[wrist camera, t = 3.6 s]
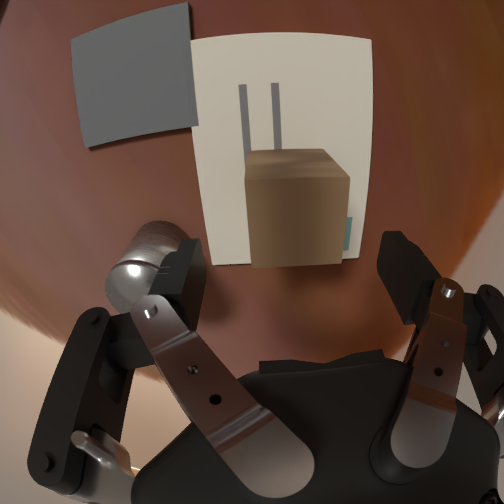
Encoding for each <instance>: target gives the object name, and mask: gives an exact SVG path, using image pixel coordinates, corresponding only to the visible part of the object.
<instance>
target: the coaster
mask: <svg viewBox="0 0 504 504" xmlns="http://www.w3.org/2000/svg"><path fill="white" fill-rule="evenodd" d="M190 40H192V37H191V24H190V9H189V3H188V2H185V3H180V4H176V5H171V6H167V7H162V8H158V9H155V10H151V11H147V12H144V13H140V14H137V15H134V16H130V17H127V18H124V19H121V20H118V21H116V22H113V23H110V24H107V25H105V26H102V27H100V28H97V29H95V30H92V31H90V32H87V33H85V34H83V35H81V36H78V37H76V38H74V39H72V40H71V54H72V67H73V77H74V86H75V94H76V101H77V108H78V114H79V120H80V126H81V131H82V136H83V141H84V146H85V148H88V147H91V146H95V145H99V144H103V143H107V142H111V141H116V140H120V139H124V138H129V137H134V136H139V135H144V134H149V133H155V132H161V131H167V130H173V129H180V128H187V127H194V126H199V122H198V113H197V104H196V95H195V85H194V84H193V83H194V80H193V79H194V75H193V64H192V53H191V52H190V51H191V41H190ZM186 45H187V46H186ZM189 56H190V57H189ZM187 59H188V60H187ZM186 66H187V67H186ZM190 69H191V70H190ZM186 70H187V71H188V72H187V71H186ZM187 78H188V79H187ZM191 83H192V84H191ZM188 85H189V86H188ZM193 89H194V90H193ZM189 91H190V93H189ZM193 98H194V99H193ZM190 103H191V104H190ZM191 109H192V110H191ZM195 112H196V113H195ZM193 121H194V122H193ZM193 124H195V125H193Z"/></svg>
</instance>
